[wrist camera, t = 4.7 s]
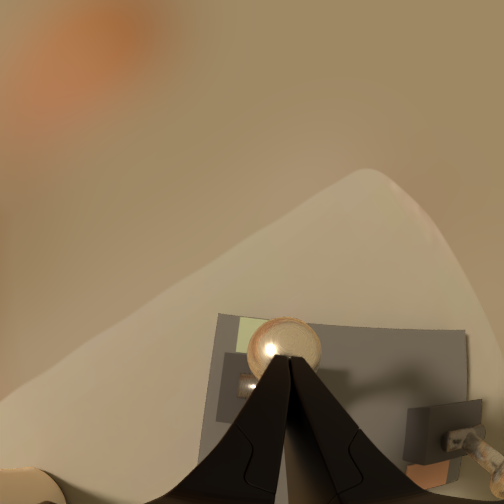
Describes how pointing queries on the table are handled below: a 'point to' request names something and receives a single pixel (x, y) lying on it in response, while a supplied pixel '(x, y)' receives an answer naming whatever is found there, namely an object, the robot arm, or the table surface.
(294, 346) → the metallic ball-topped lever
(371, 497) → the robot arm
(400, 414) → the switch board
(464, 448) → the silver lever handle
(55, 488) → the beige cylinder
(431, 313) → the table surface
